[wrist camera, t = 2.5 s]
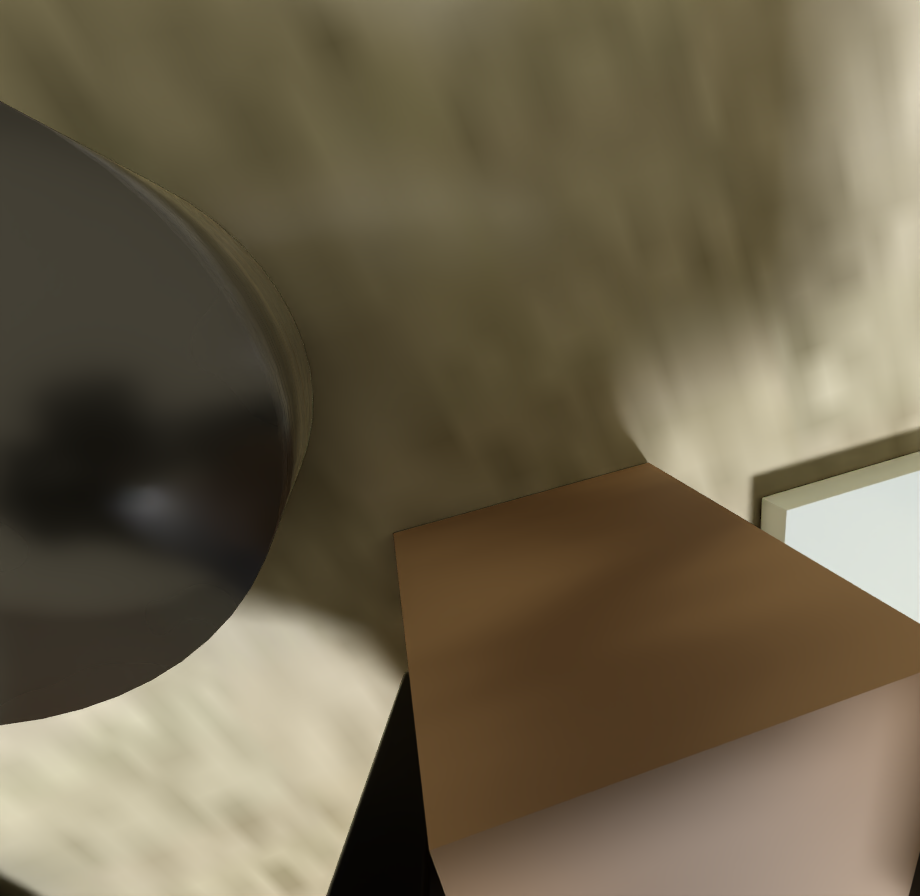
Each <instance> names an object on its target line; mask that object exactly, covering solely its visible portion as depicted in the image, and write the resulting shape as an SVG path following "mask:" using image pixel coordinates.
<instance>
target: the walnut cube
mask: <svg viewBox="0 0 920 896" xmlns="http://www.w3.org/2000/svg"><path fill="white" fill-rule="evenodd" d="M393 536H394V545H395V553H396V562H397V571H398V580H399V589H400V598H401V606H402V615H403V624H404V633H405V642H406V650H407V659H408V668H409V677H410V686H411V695H412V703H413V712H414V721H415V730H416V739H417V748H418V756H419V765H420V774H421V783H422V792H423V800H424V809H425V818H426V827H427V836H428V845H429V851H430V854H431V857H432V860H433V862H434V865H435V868H436V871H437V873H438V876H439V879H440V882H441V884H442V887H443V890H444V893H445V895H446V896H909V892H910V888H911V884H912V881H913V877H914V873H915V869H916V865H917V861H918V857H919V853H920V623H918V622H916V621H915V620H913V619H911V618H909V617H908V616H906V615H904V614H903V613H901V612H899V611H898V610H896V609H894V608H893V607H891V606H889V605H888V604H886V603H884V602H883V601H881V600H879V599H877V598H876V597H874V596H872V595H871V594H869V593H867V592H866V591H864V590H862V589H861V588H859V587H857V586H856V585H854V584H852V583H851V582H849V581H847V580H845V579H844V578H842V577H840V576H839V575H837V574H835V573H834V572H832V571H830V570H829V569H827V568H825V567H824V566H822V565H820V564H819V563H817V562H815V561H813V560H812V559H810V558H808V557H807V556H805V555H803V554H802V553H800V552H798V551H797V550H795V549H793V548H792V547H790V546H788V545H787V544H785V543H783V542H781V541H780V540H778V539H776V538H775V537H773V536H771V535H770V534H768V533H766V532H765V531H763V530H761V529H760V528H758V527H756V526H755V525H753V524H751V523H749V522H748V521H746V520H744V519H743V518H741V517H739V516H738V515H736V514H734V513H733V512H731V511H729V510H728V509H726V508H724V507H723V506H721V505H719V504H717V503H716V502H714V501H712V500H711V499H709V498H707V497H706V496H704V495H702V494H701V493H699V492H697V491H696V490H694V489H692V488H691V487H689V486H687V485H685V484H684V483H682V482H680V481H679V480H677V479H675V478H674V477H672V476H670V475H669V474H667V473H665V472H664V471H662V470H660V469H659V468H657V467H655V466H653V465H652V464H650V463H644V464H641V465H637V466H633V467H630V468H626V469H623V470H619V471H615V472H612V473H608V474H605V475H601V476H597V477H594V478H590V479H587V480H583V481H579V482H576V483H572V484H569V485H565V486H561V487H558V488H554V489H551V490H547V491H543V492H540V493H536V494H533V495H529V496H526V497H522V498H518V499H515V500H511V501H508V502H504V503H500V504H497V505H493V506H490V507H486V508H482V509H479V510H475V511H472V512H468V513H464V514H461V515H457V516H454V517H450V518H446V519H443V520H439V521H436V522H432V523H428V524H425V525H421V526H418V527H414V528H410V529H407V530H403V531H400V532H396V533H393Z"/></svg>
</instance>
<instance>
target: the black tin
mask: <svg viewBox="0 0 920 896" xmlns="http://www.w3.org/2000/svg"><path fill="white" fill-rule="evenodd" d="M312 421H313V389H312V380H311V371H310V367H309V363H308V359H307V355H306V351H305V347H304V344H303V341H302V339H301V336H300V334H299V331H298V328H297V326H296V323H295V321H294V319H293V317H292V315H291V313H290V311H289V309H288V307H287V306H286V304H285V302H284V300H283V298H282V296H281V294H280V293H279V291H278V290H277V289H276V287H275V286H274V284H273V283H272V282H271V280H270V279H269V277H268V276H267V274H266V273H265V272H264V270H263V269H262V268H261V266H260V265H259V264H258V263H257V262H256V261H255V260H254V259H253V257H252V256H251V255H250V254H249V253H248V252H247V251H246V250H245V248H244V247H243V246H242V245H241V244H240V243H239V242H238V241H236V240H235V239H234V238H233V237H232V236H231V235H230V234H229V233H228V232H226V231H225V230H224V229H223V228H222V227H221V226H220V225H219V224H218V223H216V222H215V221H214V220H212V219H211V218H210V217H208V216H207V215H205V214H204V213H203V212H201V211H200V210H199V209H197V208H196V207H194V206H193V205H192V204H190V203H189V202H187V201H185V200H184V199H182V198H180V197H178V196H177V195H175V194H173V193H171V192H170V191H168V190H166V189H164V188H162V187H161V186H159V185H157V184H155V183H153V182H152V181H150V180H148V179H146V178H144V177H142V176H140V175H138V174H136V173H135V172H133V171H131V170H129V169H127V168H125V167H123V166H121V165H119V164H118V163H116V162H114V161H112V160H110V159H108V158H106V157H104V156H102V155H101V154H99V153H97V152H95V151H93V150H91V149H89V148H87V147H86V146H84V145H82V144H80V143H78V142H76V141H74V140H72V139H70V138H69V137H67V136H65V135H63V134H61V133H59V132H57V131H55V130H53V129H52V128H50V127H48V126H46V125H44V124H42V123H40V122H38V121H37V120H35V119H33V118H31V117H29V116H27V115H25V114H23V113H21V112H20V111H18V110H16V109H14V108H12V107H10V106H8V105H6V104H4V103H3V102H1V101H0V725H5V724H11V723H18V722H25V721H31V720H38V719H44V718H48V717H52V716H56V715H60V714H64V713H68V712H72V711H76V710H80V709H83V708H86V707H89V706H92V705H95V704H97V703H100V702H103V701H106V700H109V699H112V698H114V697H117V696H120V695H122V694H124V693H126V692H128V691H130V690H132V689H134V688H136V687H138V686H141V685H143V684H145V683H147V682H149V681H151V680H153V679H154V678H156V677H158V676H159V675H161V674H162V673H164V672H166V671H167V670H169V669H170V668H172V667H174V666H175V665H177V664H178V663H180V662H182V661H183V660H184V659H185V658H187V657H188V656H189V655H190V654H191V653H193V652H194V651H195V650H196V649H198V648H199V647H200V646H201V645H203V644H204V643H205V642H206V641H207V640H209V639H210V638H211V637H212V635H213V634H214V633H215V632H216V631H217V630H218V629H219V628H220V627H221V626H222V625H223V624H224V623H225V622H226V621H227V620H228V618H229V617H230V616H231V615H232V614H233V613H234V611H235V610H236V608H237V607H238V605H239V604H240V603H241V601H242V600H243V598H244V597H245V595H246V594H247V593H248V591H249V590H250V588H251V587H252V585H253V583H254V581H255V579H256V577H257V575H258V573H259V571H260V569H261V567H262V565H263V563H264V561H265V559H266V556H267V554H268V551H269V548H270V546H271V543H272V541H273V538H274V535H275V533H276V530H277V527H278V525H279V522H280V520H281V517H282V514H283V512H284V509H285V507H286V504H287V501H288V499H289V496H290V494H291V491H292V488H293V486H294V483H295V480H296V478H297V475H298V473H299V470H300V467H301V465H302V462H303V459H304V456H305V453H306V449H307V446H308V443H309V438H310V432H311V426H312Z"/></svg>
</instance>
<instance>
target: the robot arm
mask: <svg viewBox="0 0 920 896" xmlns="http://www.w3.org/2000/svg"><path fill="white" fill-rule="evenodd" d="M326 896H446V895H445V893H444V890H443V887H442V884H441V882H440V879H439V876H438V873H437V871H436V868H435V865H434V862H433V860H432V857H431V854H430V851H429V845H428V836H427V827H426V818H425V809H424V800H423V792H422V783H421V774H420V765H419V756H418V748H417V739H416V730H415V721H414V712H413V703H412V695H411V686H410V677H409V671H407V672H406V673H405V674H404V676H403V678H402V681H401V684H400V687H399V690H398V693H397V695H396V698H395V701H394V704H393V707H392V710H391V713H390V715H389V718H388V721H387V724H386V727H385V730H384V732H383V735H382V738H381V741H380V744H379V747H378V750H377V752H376V755H375V758H374V761H373V764H372V767H371V769H370V772H369V775H368V778H367V781H366V784H365V787H364V789H363V792H362V795H361V798H360V801H359V804H358V807H357V809H356V812H355V815H354V818H353V821H352V824H351V826H350V829H349V832H348V835H347V838H346V841H345V844H344V846H343V849H342V852H341V855H340V858H339V861H338V863H337V866H336V869H335V872H334V875H333V878H332V881H331V883H330V886H329V889H328V892H327V895H326ZM909 896H920V853H919V857H918V861H917V865H916V869H915V873H914V877H913V881H912V884H911V888H910V892H909Z"/></svg>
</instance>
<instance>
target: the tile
mask: <svg viewBox="0 0 920 896" xmlns="http://www.w3.org/2000/svg"><path fill="white" fill-rule="evenodd" d="M761 530H763V531H765V532H766V533H768V534H770V535H771V536H773V537H775V538H776V539H778V540H780V541H781V542H783V543H785V544H787V545H788V546H790V547H792V548H793V549H795V550H797V551H798V552H800V553H802V554H803V555H805V556H807V557H808V558H810V559H812V560H813V561H815V562H817V563H819V564H820V565H822V566H824V567H825V568H827V569H829V570H830V571H832V572H834V573H835V574H837V575H839V576H840V577H842V578H844V579H845V580H847V581H849V582H851V583H852V584H854V585H856V586H857V587H859V588H861V589H862V590H864V591H866V592H867V593H869V594H871V595H872V596H874V597H876V598H877V599H879V600H881V601H883V602H884V603H886V604H888V605H889V606H891V607H893V608H894V609H896V610H898V611H899V612H901V613H903V614H904V615H906V616H908V617H909V618H911V619H913V620H915V621H916V622H918V623H920V451H919V452H915V453H912V454H909V455H905V456H902V457H899V458H895V459H892V460H888V461H885V462H882V463H878V464H875V465H872V466H868V467H865V468H861V469H858V470H855V471H851V472H848V473H844V474H841V475H838V476H834V477H831V478H828V479H824V480H821V481H817V482H814V483H811V484H807V485H804V486H801V487H797V488H794V489H790V490H787V491H784V492H780V493H777V494H774V495H770V496H767V497H763V498H762V512H761Z"/></svg>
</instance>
